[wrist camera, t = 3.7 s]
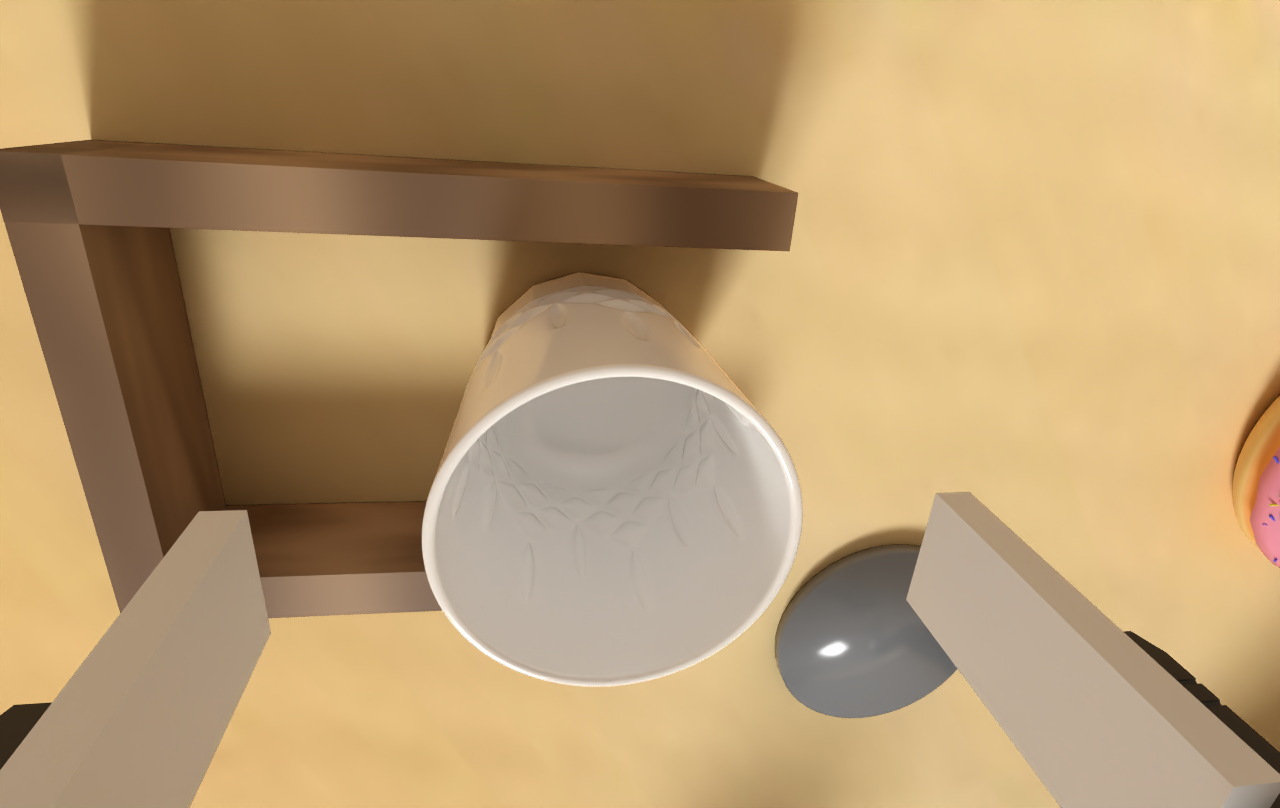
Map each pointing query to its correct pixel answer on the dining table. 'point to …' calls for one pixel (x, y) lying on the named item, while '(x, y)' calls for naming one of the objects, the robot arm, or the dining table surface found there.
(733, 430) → the white cup
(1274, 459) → the doughnut
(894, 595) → the coaster
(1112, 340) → the dining table surface
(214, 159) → the brown wooden tray
